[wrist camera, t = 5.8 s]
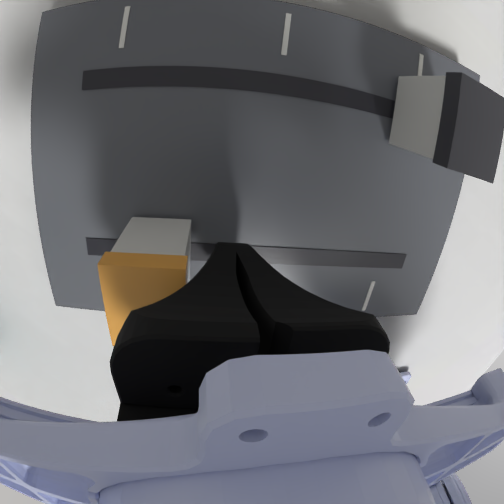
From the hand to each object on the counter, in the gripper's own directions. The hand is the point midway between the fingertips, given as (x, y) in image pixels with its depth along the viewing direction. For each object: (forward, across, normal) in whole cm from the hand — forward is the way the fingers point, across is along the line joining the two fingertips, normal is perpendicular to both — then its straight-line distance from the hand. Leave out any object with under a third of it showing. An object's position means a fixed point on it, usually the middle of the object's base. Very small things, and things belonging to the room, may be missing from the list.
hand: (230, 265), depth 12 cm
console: (+3, -1, -4) cm, 5 cm away
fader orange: (+1, +3, 0) cm, 3 cm away
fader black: (+1, -7, -7) cm, 10 cm away
